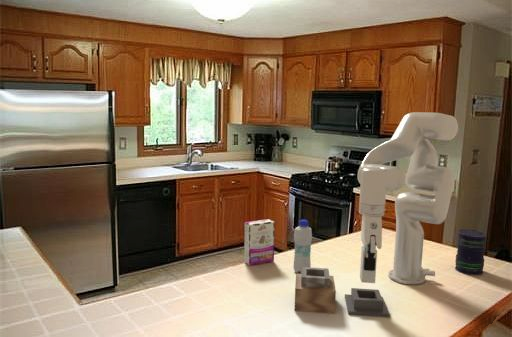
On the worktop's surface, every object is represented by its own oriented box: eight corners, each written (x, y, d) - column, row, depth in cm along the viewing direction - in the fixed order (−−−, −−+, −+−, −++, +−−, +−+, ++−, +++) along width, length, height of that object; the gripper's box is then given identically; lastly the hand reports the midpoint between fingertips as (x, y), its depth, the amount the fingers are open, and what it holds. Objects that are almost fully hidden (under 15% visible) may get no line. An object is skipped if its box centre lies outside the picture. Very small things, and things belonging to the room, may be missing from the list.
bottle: (310, 269, 165) (312, 217, 162) (311, 275, 158) (313, 222, 156) (292, 268, 166) (294, 217, 163) (292, 274, 159) (294, 221, 156)
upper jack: (332, 296, 141) (333, 266, 140) (334, 313, 129) (336, 281, 128) (295, 293, 142) (296, 264, 141) (294, 310, 131) (295, 278, 129)
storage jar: (455, 272, 164) (458, 234, 162) (454, 264, 173) (457, 228, 171) (484, 277, 161) (488, 238, 159) (481, 268, 170) (485, 231, 168)
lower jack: (382, 299, 139) (383, 287, 139) (389, 317, 128) (390, 304, 127) (344, 297, 141) (345, 285, 140) (348, 314, 129) (349, 301, 128)
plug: (373, 278, 135) (375, 240, 133) (375, 283, 131) (377, 244, 129) (359, 277, 135) (362, 240, 133) (361, 282, 131) (363, 243, 130)
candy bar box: (268, 257, 176) (269, 218, 174) (274, 261, 172) (275, 221, 170) (243, 261, 171) (244, 221, 169) (248, 266, 167) (249, 224, 165)
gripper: (390, 216, 121) (385, 278, 124) (379, 203, 138) (376, 259, 140) (362, 214, 122) (359, 276, 124) (355, 202, 139) (352, 257, 141)
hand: (368, 266), depth 132 cm, fingers closed on plug, 4 cm apart
